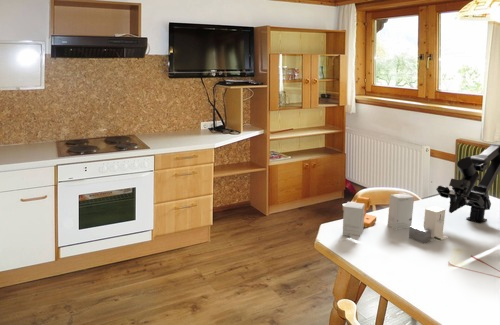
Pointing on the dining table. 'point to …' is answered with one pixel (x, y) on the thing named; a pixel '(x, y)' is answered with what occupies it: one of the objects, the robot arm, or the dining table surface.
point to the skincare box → (400, 211)
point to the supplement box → (353, 218)
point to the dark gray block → (420, 234)
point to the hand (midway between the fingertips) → (450, 212)
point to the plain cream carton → (434, 221)
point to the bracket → (368, 219)
